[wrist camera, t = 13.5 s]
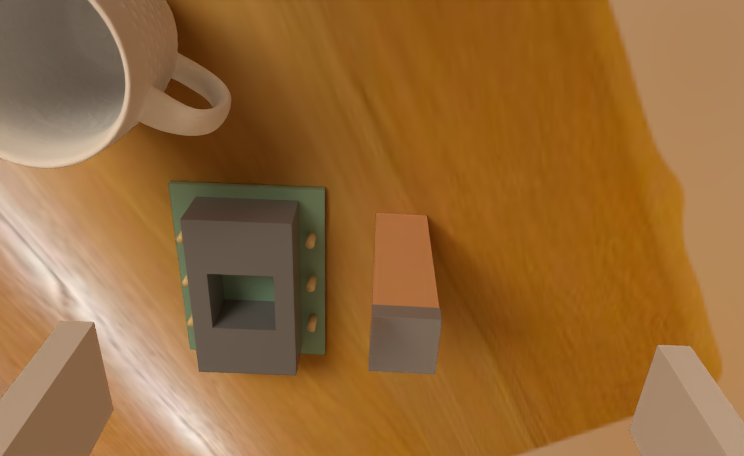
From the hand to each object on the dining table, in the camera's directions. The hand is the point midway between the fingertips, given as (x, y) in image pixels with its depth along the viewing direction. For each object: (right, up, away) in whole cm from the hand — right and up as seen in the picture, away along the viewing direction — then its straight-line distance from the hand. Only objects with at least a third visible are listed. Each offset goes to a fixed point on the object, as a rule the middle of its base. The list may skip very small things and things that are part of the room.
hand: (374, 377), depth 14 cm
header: (-10, 0, +36) cm, 37 cm away
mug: (-16, +17, +27) cm, 36 cm away
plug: (+2, +3, +34) cm, 34 cm away
